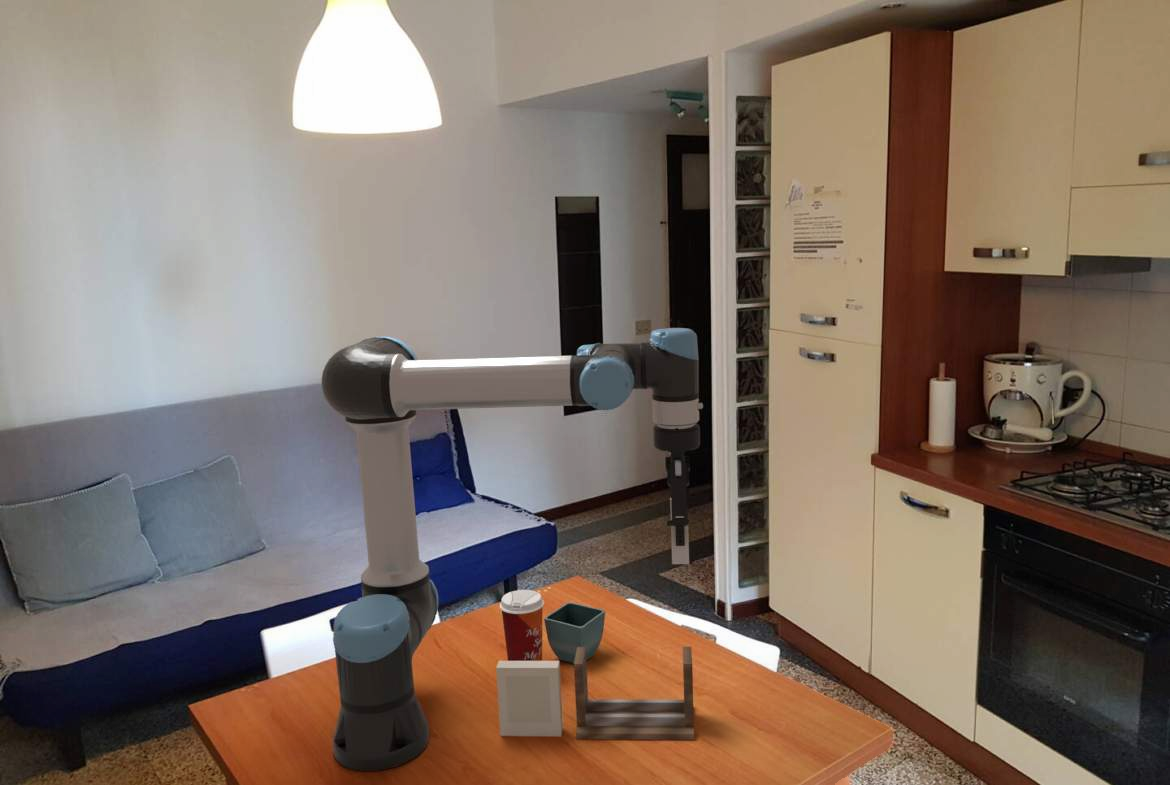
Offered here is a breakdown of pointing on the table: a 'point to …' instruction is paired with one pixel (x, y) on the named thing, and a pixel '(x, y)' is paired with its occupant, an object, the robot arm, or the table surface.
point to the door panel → (529, 698)
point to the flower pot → (574, 630)
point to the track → (633, 710)
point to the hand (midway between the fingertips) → (679, 548)
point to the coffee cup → (523, 625)
